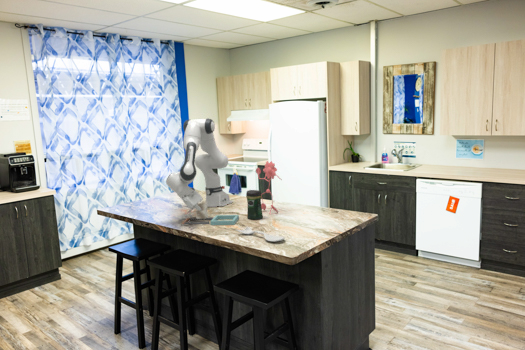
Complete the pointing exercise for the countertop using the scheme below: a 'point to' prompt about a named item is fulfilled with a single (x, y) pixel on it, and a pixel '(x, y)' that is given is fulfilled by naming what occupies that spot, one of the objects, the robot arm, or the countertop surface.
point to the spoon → (267, 236)
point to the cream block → (202, 211)
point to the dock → (224, 222)
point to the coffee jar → (254, 204)
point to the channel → (197, 222)
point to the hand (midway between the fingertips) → (202, 208)
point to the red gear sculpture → (269, 173)
